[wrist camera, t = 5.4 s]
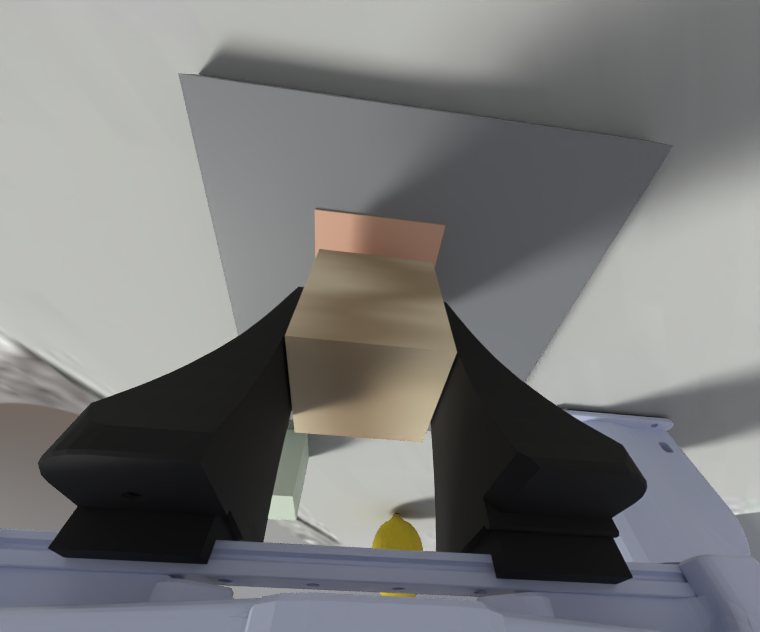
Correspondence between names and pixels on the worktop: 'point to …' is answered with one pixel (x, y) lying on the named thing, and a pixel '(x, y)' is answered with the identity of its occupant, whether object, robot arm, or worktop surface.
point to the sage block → (290, 476)
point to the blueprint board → (412, 201)
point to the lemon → (397, 541)
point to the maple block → (368, 347)
